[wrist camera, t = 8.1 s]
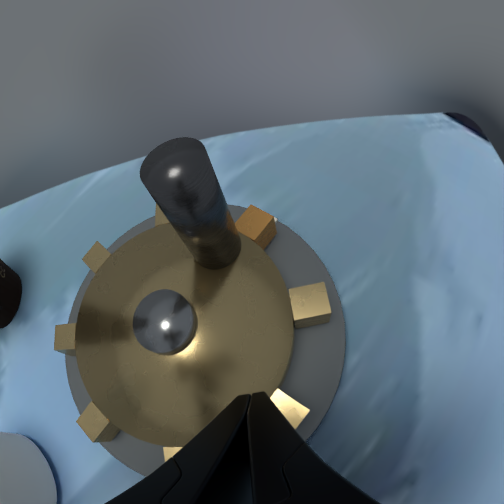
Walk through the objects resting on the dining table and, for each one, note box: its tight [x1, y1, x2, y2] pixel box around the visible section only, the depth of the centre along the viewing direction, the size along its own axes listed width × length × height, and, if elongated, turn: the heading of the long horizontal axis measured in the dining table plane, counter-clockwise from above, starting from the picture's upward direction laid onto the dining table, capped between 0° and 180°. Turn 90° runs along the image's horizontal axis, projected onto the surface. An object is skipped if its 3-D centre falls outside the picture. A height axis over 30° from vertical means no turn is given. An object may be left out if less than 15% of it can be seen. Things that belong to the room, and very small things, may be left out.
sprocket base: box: [65, 205, 346, 477], centre depth 20 cm, size 20×20×1 cm
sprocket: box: [54, 137, 331, 462], centre depth 15 cm, size 18×18×10 cm
